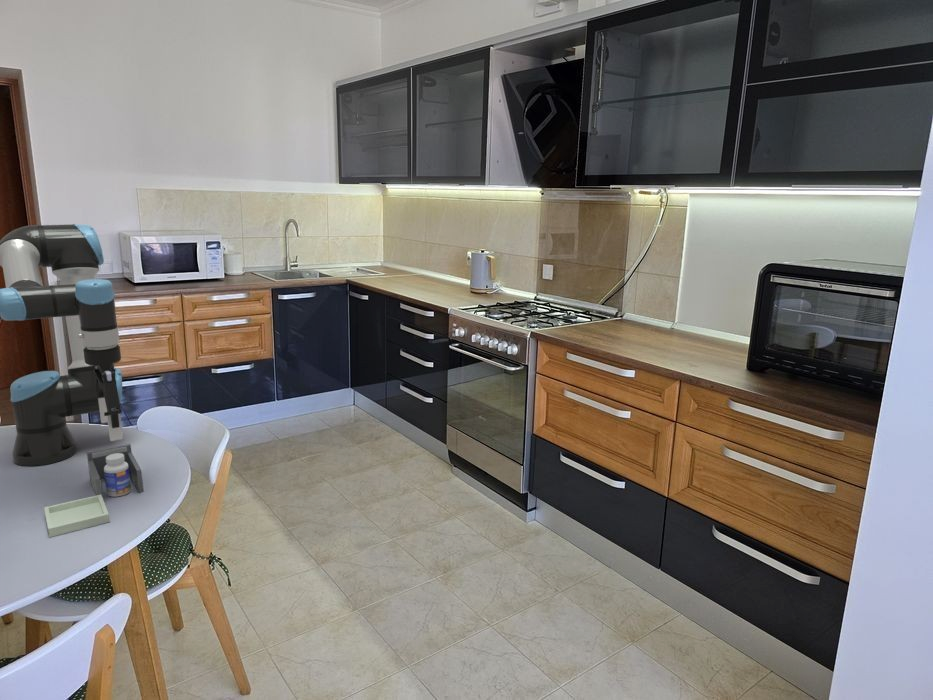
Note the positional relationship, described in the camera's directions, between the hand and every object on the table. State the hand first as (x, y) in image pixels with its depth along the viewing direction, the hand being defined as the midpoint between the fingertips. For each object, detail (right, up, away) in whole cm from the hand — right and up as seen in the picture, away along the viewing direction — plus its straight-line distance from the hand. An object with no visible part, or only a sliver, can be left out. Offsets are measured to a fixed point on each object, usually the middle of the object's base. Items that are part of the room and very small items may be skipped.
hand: (111, 430), depth 155 cm
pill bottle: (-1, -16, +4) cm, 17 cm away
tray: (-3, -19, -9) cm, 21 cm away
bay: (-3, -15, +7) cm, 17 cm away
